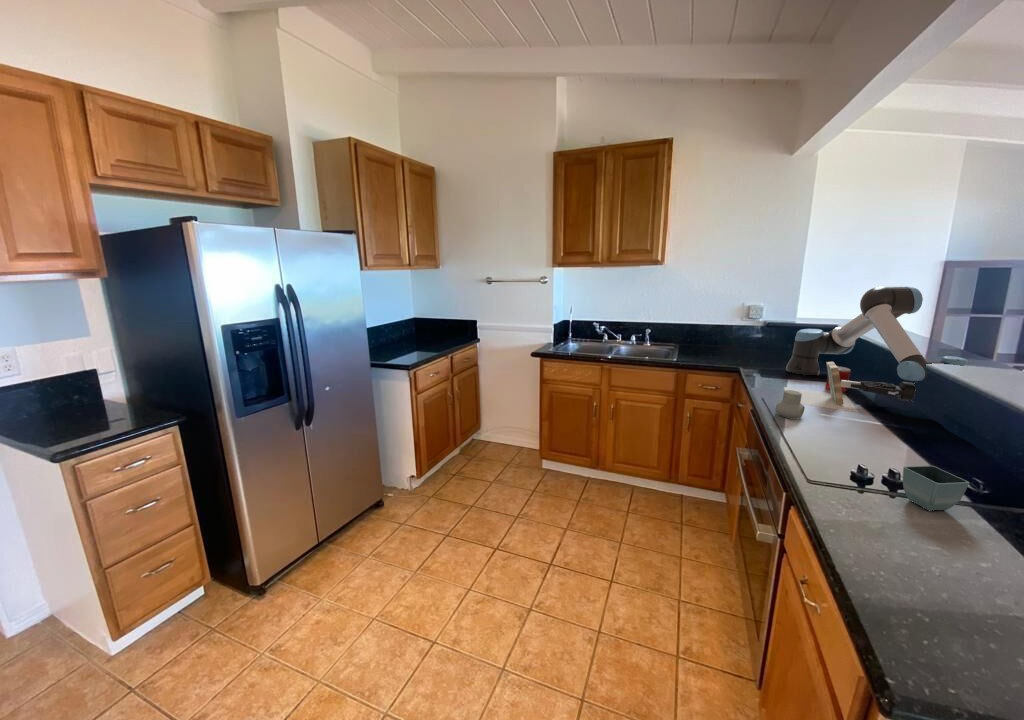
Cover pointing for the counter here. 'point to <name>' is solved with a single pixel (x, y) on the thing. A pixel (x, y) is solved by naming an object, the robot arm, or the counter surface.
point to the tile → (834, 383)
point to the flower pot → (933, 487)
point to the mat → (823, 400)
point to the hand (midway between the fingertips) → (840, 383)
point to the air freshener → (790, 405)
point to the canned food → (841, 377)
